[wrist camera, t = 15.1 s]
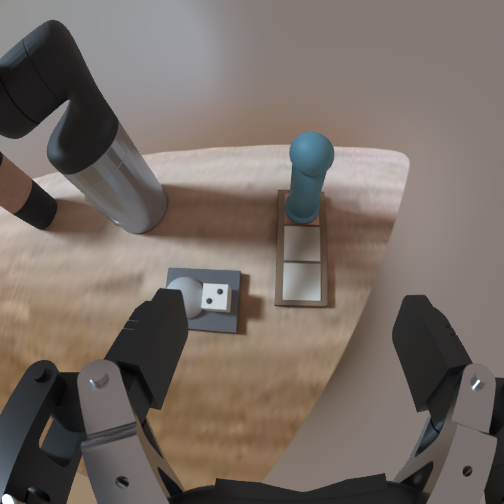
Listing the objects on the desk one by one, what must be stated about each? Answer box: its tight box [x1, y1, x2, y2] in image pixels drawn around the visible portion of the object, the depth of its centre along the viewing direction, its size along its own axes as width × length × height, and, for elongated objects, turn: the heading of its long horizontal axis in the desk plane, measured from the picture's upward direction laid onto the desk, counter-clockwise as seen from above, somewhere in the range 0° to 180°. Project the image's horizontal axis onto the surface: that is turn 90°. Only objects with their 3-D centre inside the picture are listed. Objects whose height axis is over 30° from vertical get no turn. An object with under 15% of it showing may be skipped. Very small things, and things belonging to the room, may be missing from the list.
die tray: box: [166, 268, 241, 333], centre depth 35 cm, size 10×8×6 cm
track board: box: [275, 190, 328, 307], centre depth 37 cm, size 7×16×1 cm, turn 177°
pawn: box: [285, 132, 334, 224], centre depth 31 cm, size 5×5×14 cm
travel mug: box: [0, 152, 57, 229], centre depth 35 cm, size 8×8×20 cm
